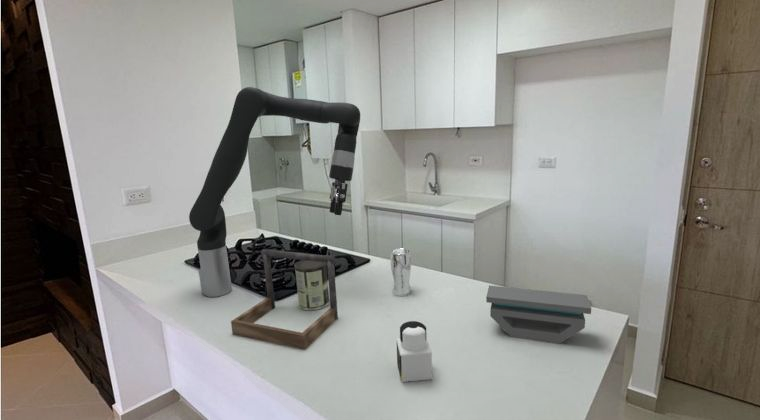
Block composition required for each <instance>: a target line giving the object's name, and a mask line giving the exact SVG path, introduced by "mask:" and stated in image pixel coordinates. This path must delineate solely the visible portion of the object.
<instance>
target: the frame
mask: <svg viewBox="0 0 760 420" xmlns="http://www.w3.org/2000/svg"><path fill="white" fill-rule="evenodd" d="M260 253H261V256H262V259H263V267H264V268H263V269H264V276H265V287H266V295H267V297H266V298H264V299H263V300H261V301H260V302H258V303H257V304H255V305H254V306H252V307H251V308H249V309H248V310H246V311H245V312H243V313H242V314H240V315H239V316H236V317H235V318H233V320H231V321H230V324H231V325H230V326H231V332H232V335H235V336H239V337H244V338H249V339H254V340H258V341H262V342H263V341H264V342H267V343H268V342H269V343H273V344H277V345H281V346H288V347H291V348H295V349H299V350H306V349H307V348H308V347H309V346H310V345H311V344H312V343H313V342H314V341H316V339H317V338H318V337H319V336H321V335H322V334H323V333H324V332H325V330H326V329H328V327H330V326H331V325H332V324H333V323H334V322H335V321H336V320H338V319H339V316H338V300H337V289H336V287H337V285H336V274H335V273H336V271H335V261H336V257H335V256H334V255H333V256H332V255H323V254H316V253H315V254H314V253H304V252H297V251H296V252H294V251H284V250H278V249H277V250H275V249H266V248H263V249H262V250H261V252H260ZM271 257H274V258H281V259H292V260H299V261H301V260H308V261H317V262H326V263H327V265H326V267H327V280H328V292H329V301H330V302H329V308H328V309H327V310H326V311H325V312H324V313H322V315H320V316H319V317H318V318H317V319H316V320H315V321H314V322H312V323H311V324H310V325H309V326H308V327H307V328H306V329H305V330H304V331H302V332H300V331H296V330H290V329H285V328H280V327H276V326H269V325H264V324H260V323H255V322H256V321H257V320H259V319H260V318H262V317H263V316H265V315H266V314H268V313H269V312H270V311H271V310H274V309H275V308H276V304H275V293H274V285H273V277H272V276H273V273H272V266H271V265H272V264H271Z"/></svg>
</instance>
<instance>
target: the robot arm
mask: <svg viewBox="0 0 760 420" xmlns="http://www.w3.org/2000/svg"><path fill="white" fill-rule="evenodd" d="M231 111H232V112H231V115H230V119H229V122H228V124H227V127H226V128H225V131H224V133H223V135H222V138H221V140H220V142H219V144H218V147H217V148H216V152H215V153H214V156H213V158H212V160H211V165H210V167H209V169H208V171H207V174H206V178H205V180H204V182H203V186H202V188H201V190H200V192H199V194H198V197H197V198H196V200H195V201H194V204H193V205H192V207H191V209H190V212H189V215H188V219H189V223H190V226H191V227H192V228H193V229H194V230H196V231H198V232H200V233H199V236H198V239H197V241H196V244H197V245H196V246H197V252H198V259H199V265H200V268H198V276H199V277H198V278H199V284H200V288H201V289H200V290H201V295H204V296H205V297H208V298H216V297H222V296H224V295H227V294H229V293H231V292H232V290H233V289H232V280H231V273H230V266H229V258H228V257H229V256H228V250H227V244H226V243H227V242H226V239H227V233H228V231H227V223H226V215H225V214H226V213H225V211H224V207H223V206H222V205H221V204H222V202H223V199H224V197H225V196H226V194H227V192H228V191H229V190H230V188H231V187H232V186H233V185H234V183H235V181H236V180H237V179H238V176H239V175H240V172H241V170H242V169H243V165H244V163H245V162H246V158H247V153H248V148H249V140H250V136H251V132H252V130H253V128H254V126H255V124H256V122H257V120H258V118H259V117H262V116H264V117H265V116H266V117H268V116H272V117H273V116H274V117H276V116H278V117H286V118H290V119H291V118H292V119H296V120H300V121H305V122H311V123H318V124H329V123H331V124H338V129H337V135H336V137H335V141H334V147H333V153H332V156H331V162H330V169H329V176H328V178H329V179H332V180H334V181H332V182H331V188H330V193H329V194H330V196H329V200H330V206H329V213H332V214H334V215H335V216H341V215H342V212H343V205H344V203H346V201H347V193H348V192H347V191H348V187H349V186H348V183H346V182H352V180H353V172H354V166H355V159H356V158H355V154H356V148H357V138H358V131H359V129H360V123H361V111H360V109H359V108H358V106H357V105H355V104H353V103H350V102H328V101H321V100H316V99H306V98H294V97H293V98H292V97H286V96H280V95H277V94H273V93H270V92H267V91H263V90H261V89H260V88H257V87H253V86H246V87H244V88H242V89H240V90H239V92H238V93H237V95H236V96H235V100H234V103H233V107H232V110H231Z"/></svg>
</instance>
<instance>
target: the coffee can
mask: <svg viewBox="0 0 760 420" xmlns="http://www.w3.org/2000/svg"><path fill="white" fill-rule="evenodd" d="M294 271H295V279H296V288H297V291H296V292H297V299H298V300H297V301H298V307H299V308H300V309H301V310H304V311H317V310H320V309H324V308H325V307H327V306H328V305H330V296H329V282H328V269H327V263H326V262H317V261H308V260H299V261H296V262H295V263H294Z"/></svg>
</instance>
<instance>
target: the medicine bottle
mask: <svg viewBox="0 0 760 420" xmlns="http://www.w3.org/2000/svg"><path fill="white" fill-rule="evenodd" d="M399 333H400V334H399V337H397V338H396V364H397V367H398V368H397V369H398V373H399V378H400V382H401V381H402V382H401V383H408V381H410V382H419V381H420V380H421V381H428V380H429V381H430V379H431V380H432V379H433V367H432V366H433V361H432V360H433V359H432V358H433V356H432V355H433V354H432V353H433V352H432V350H431V347H430V345H429V342H428V339H427V326H426V325H425V324H424V323H422V322H420V321H416V320H415V321H414V320H413V321H412V320H411V321H409V320H408V321H406V322H403V323H402V324H401V325H400V326H399ZM406 381H407V382H406Z"/></svg>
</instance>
